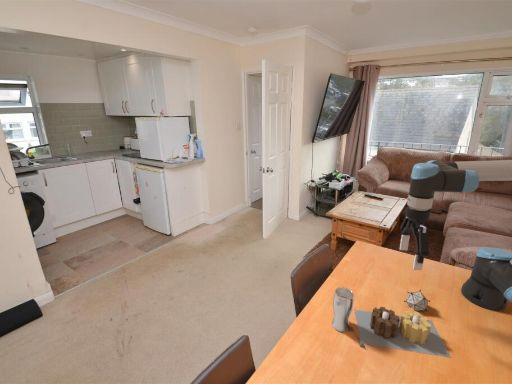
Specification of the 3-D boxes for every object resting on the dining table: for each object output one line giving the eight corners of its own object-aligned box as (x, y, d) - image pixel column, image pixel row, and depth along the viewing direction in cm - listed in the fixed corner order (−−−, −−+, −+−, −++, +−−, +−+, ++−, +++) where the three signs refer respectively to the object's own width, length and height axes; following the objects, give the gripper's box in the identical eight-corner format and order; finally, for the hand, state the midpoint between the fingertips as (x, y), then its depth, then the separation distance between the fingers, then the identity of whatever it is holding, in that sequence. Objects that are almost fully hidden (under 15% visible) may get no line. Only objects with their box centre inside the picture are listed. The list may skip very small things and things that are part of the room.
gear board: (430, 323, 101) (435, 305, 99) (450, 361, 87) (456, 341, 84) (353, 312, 107) (356, 295, 104) (360, 346, 92) (363, 327, 89)
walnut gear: (392, 321, 100) (395, 308, 99) (400, 341, 92) (403, 327, 90) (367, 317, 102) (369, 305, 100) (372, 336, 94) (375, 323, 92)
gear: (414, 321, 100) (417, 309, 98) (433, 341, 92) (437, 328, 90) (393, 325, 99) (395, 312, 97) (411, 346, 90) (414, 332, 88)
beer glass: (337, 335, 96) (341, 301, 92) (327, 320, 103) (330, 288, 98) (353, 330, 98) (358, 297, 93) (343, 317, 105) (347, 285, 100)
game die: (418, 319, 108) (436, 314, 100) (399, 310, 109) (415, 304, 101) (418, 298, 114) (435, 291, 106) (399, 289, 114) (415, 282, 106)
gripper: (395, 195, 106) (389, 242, 113) (422, 221, 83) (412, 278, 89) (416, 195, 105) (408, 243, 112) (448, 222, 82) (436, 280, 88)
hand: (409, 259), depth 100 cm, fingers open, 13 cm apart
